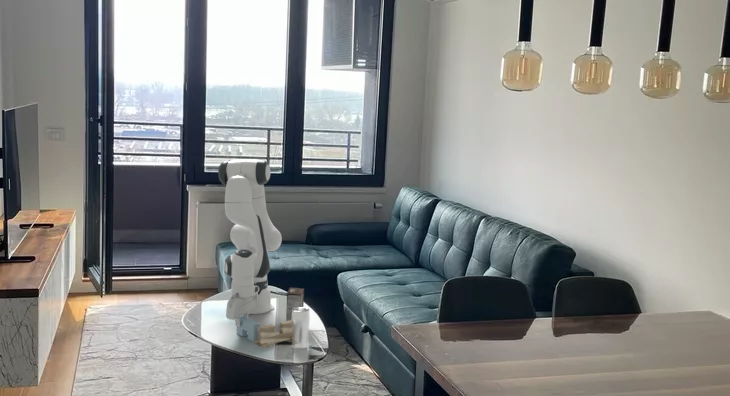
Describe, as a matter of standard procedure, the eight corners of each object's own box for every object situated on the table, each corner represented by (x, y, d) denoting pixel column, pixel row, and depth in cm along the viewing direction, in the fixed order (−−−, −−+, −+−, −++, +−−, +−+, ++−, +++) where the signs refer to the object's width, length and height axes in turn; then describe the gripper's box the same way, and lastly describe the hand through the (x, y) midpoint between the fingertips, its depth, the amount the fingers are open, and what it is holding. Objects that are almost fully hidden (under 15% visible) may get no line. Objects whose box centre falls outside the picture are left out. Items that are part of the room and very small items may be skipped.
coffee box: (288, 324, 295) (289, 287, 292) (303, 324, 294) (304, 288, 292) (285, 330, 286) (286, 292, 283) (300, 331, 285) (302, 293, 283)
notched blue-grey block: (236, 333, 279) (237, 316, 278) (241, 332, 281) (242, 315, 280) (253, 341, 270) (254, 324, 270) (258, 340, 272) (259, 323, 271)
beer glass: (305, 351, 263) (307, 312, 262) (287, 348, 265) (289, 310, 263) (310, 345, 270) (312, 307, 268) (293, 343, 272) (294, 306, 270)
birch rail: (255, 343, 269) (255, 325, 268) (288, 335, 280) (289, 318, 279) (264, 347, 265) (264, 330, 264) (297, 339, 276) (298, 322, 275)
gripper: (237, 298, 266) (236, 332, 268) (260, 285, 285) (259, 318, 287) (222, 296, 268) (221, 330, 269) (247, 284, 287) (246, 316, 289)
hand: (241, 324), depth 278 cm, fingers closed on notched blue-grey block, 4 cm apart
